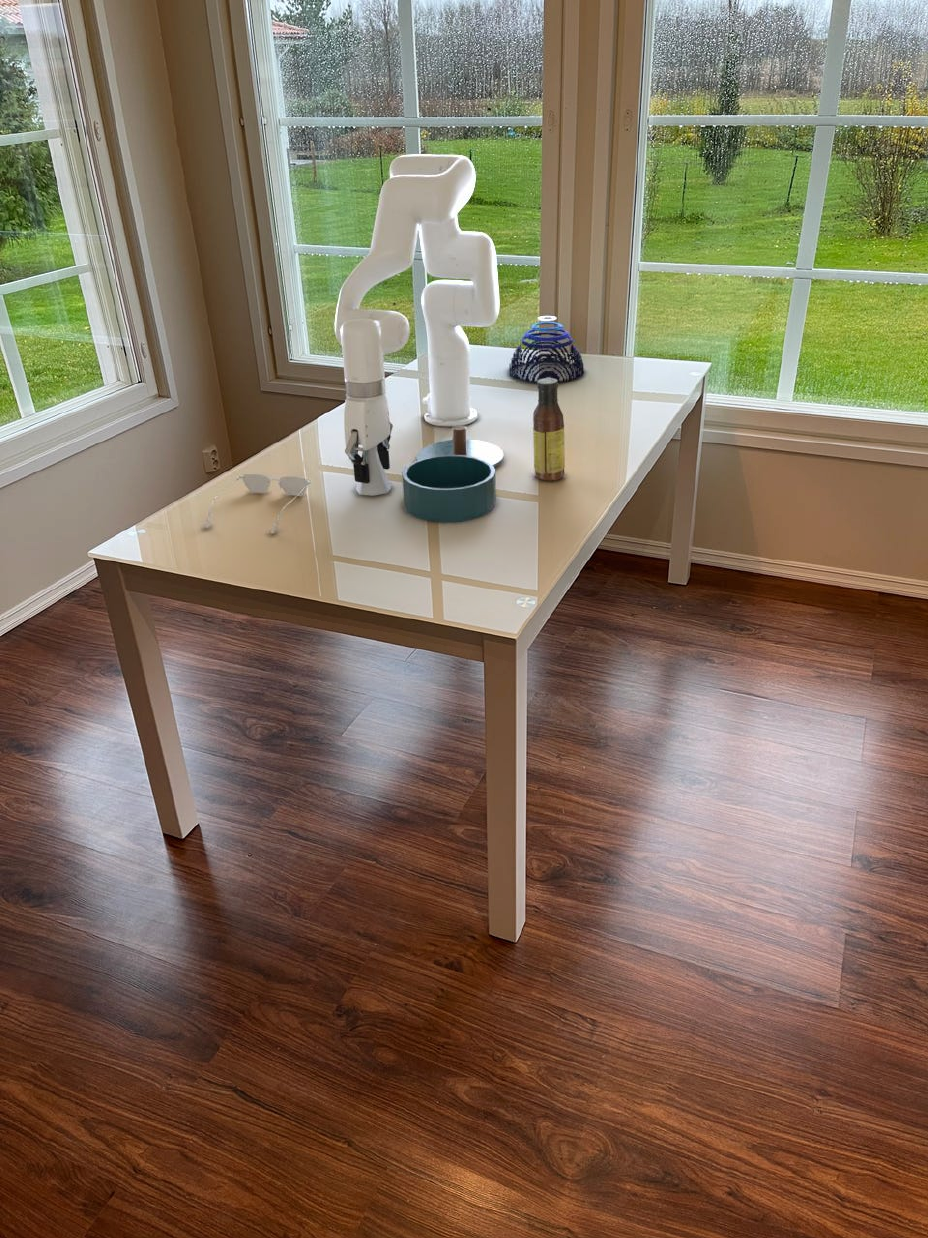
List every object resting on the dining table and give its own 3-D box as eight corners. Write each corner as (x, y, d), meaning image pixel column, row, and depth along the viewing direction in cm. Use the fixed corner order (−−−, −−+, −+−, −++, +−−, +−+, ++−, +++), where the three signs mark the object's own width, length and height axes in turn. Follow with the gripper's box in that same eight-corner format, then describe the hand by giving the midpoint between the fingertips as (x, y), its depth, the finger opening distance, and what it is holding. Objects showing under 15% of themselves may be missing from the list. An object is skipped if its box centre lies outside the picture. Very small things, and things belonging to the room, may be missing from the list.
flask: (355, 483, 193) (351, 436, 188) (391, 481, 194) (388, 434, 189) (355, 497, 187) (351, 449, 182) (392, 495, 188) (388, 447, 182)
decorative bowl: (587, 382, 248) (589, 326, 240) (510, 384, 248) (510, 328, 241) (580, 361, 265) (582, 308, 257) (508, 362, 265) (508, 310, 258)
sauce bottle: (567, 472, 196) (570, 376, 185) (560, 483, 191) (562, 386, 180) (536, 468, 198) (538, 374, 187) (528, 480, 193) (529, 383, 182)
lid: (399, 461, 203) (397, 428, 200) (461, 438, 214) (460, 407, 211) (458, 484, 192) (457, 450, 188) (521, 458, 203) (521, 426, 199)
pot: (385, 503, 184) (383, 472, 181) (451, 478, 195) (450, 448, 191) (447, 530, 173) (446, 497, 170) (513, 501, 183) (514, 470, 180)
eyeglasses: (313, 495, 189) (311, 477, 186) (278, 535, 173) (275, 515, 171) (241, 490, 192) (238, 472, 190) (201, 528, 177) (197, 509, 175)
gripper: (372, 372, 188) (378, 457, 197) (323, 398, 174) (332, 488, 184) (405, 376, 185) (410, 462, 194) (358, 403, 172) (366, 494, 181)
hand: (372, 474), depth 189 cm, fingers open, 7 cm apart
